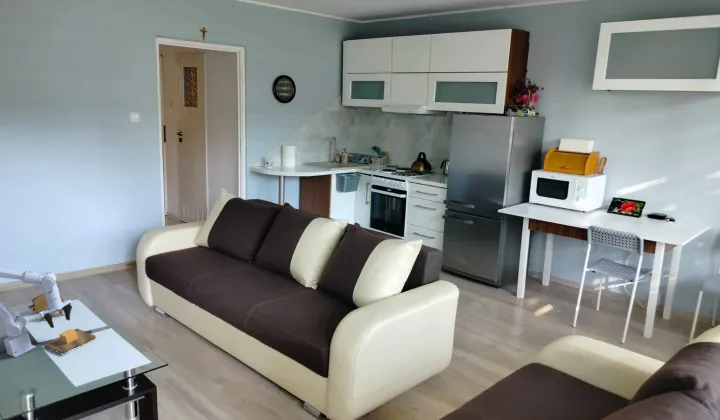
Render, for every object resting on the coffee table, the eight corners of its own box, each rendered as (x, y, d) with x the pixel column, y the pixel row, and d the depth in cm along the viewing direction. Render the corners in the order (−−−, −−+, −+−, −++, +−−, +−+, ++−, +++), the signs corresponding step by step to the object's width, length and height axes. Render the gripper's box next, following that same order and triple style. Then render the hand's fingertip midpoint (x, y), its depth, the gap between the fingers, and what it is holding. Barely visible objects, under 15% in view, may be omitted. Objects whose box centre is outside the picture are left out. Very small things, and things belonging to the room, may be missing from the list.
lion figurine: (68, 310, 280) (64, 295, 277) (71, 313, 276) (67, 298, 274) (38, 320, 271) (34, 305, 268) (41, 324, 267) (36, 308, 264)
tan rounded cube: (67, 343, 242) (65, 336, 241) (61, 341, 245) (59, 334, 244) (78, 338, 246) (76, 331, 245) (72, 336, 249) (69, 328, 248)
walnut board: (63, 355, 236) (61, 347, 234) (45, 347, 244) (42, 339, 243) (96, 338, 248) (94, 330, 247) (77, 331, 257) (75, 323, 255)
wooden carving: (61, 302, 290) (57, 286, 287) (64, 304, 287) (60, 288, 284) (29, 315, 278) (24, 298, 275) (32, 317, 275) (27, 300, 272)
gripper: (41, 306, 234) (49, 332, 238) (72, 293, 245) (79, 318, 249) (33, 303, 238) (41, 329, 242) (65, 290, 249) (71, 315, 253)
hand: (60, 323), depth 246 cm, fingers open, 7 cm apart
